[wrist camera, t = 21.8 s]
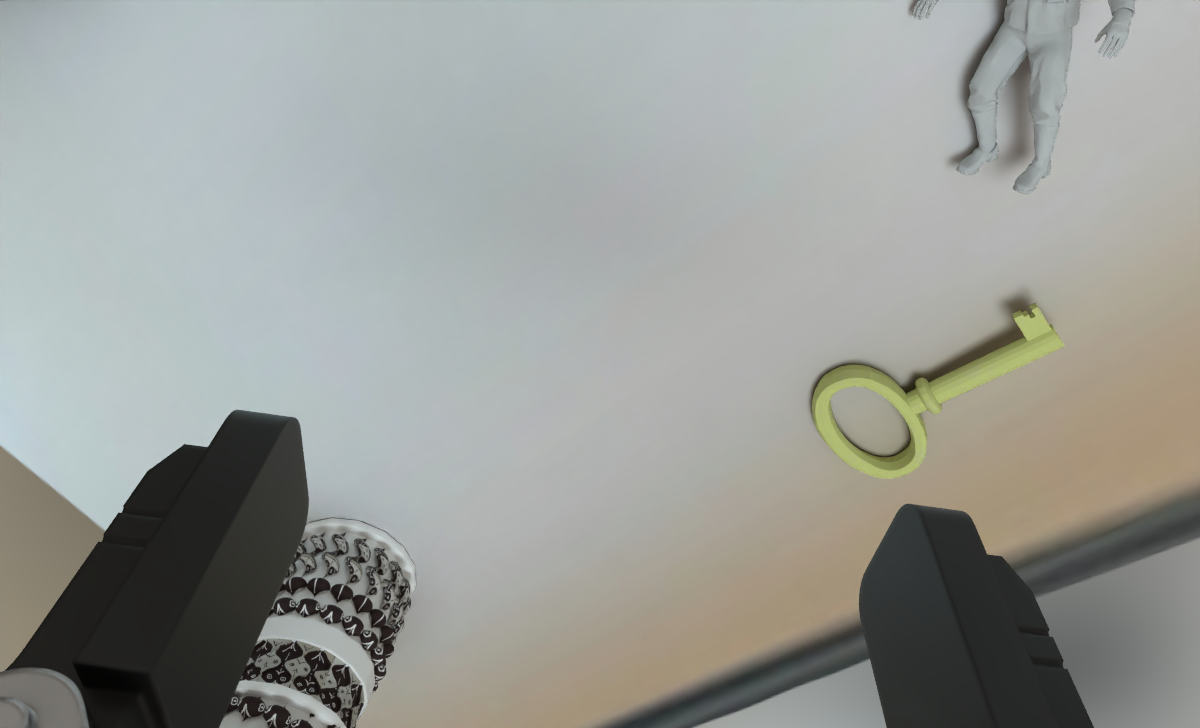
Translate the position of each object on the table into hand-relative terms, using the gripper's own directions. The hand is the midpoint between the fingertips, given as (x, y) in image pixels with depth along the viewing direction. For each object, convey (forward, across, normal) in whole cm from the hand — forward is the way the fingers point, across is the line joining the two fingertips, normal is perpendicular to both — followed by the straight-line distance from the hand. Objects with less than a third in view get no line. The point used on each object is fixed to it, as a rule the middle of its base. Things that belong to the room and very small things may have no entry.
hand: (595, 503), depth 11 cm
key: (+26, -18, +16) cm, 35 cm away
